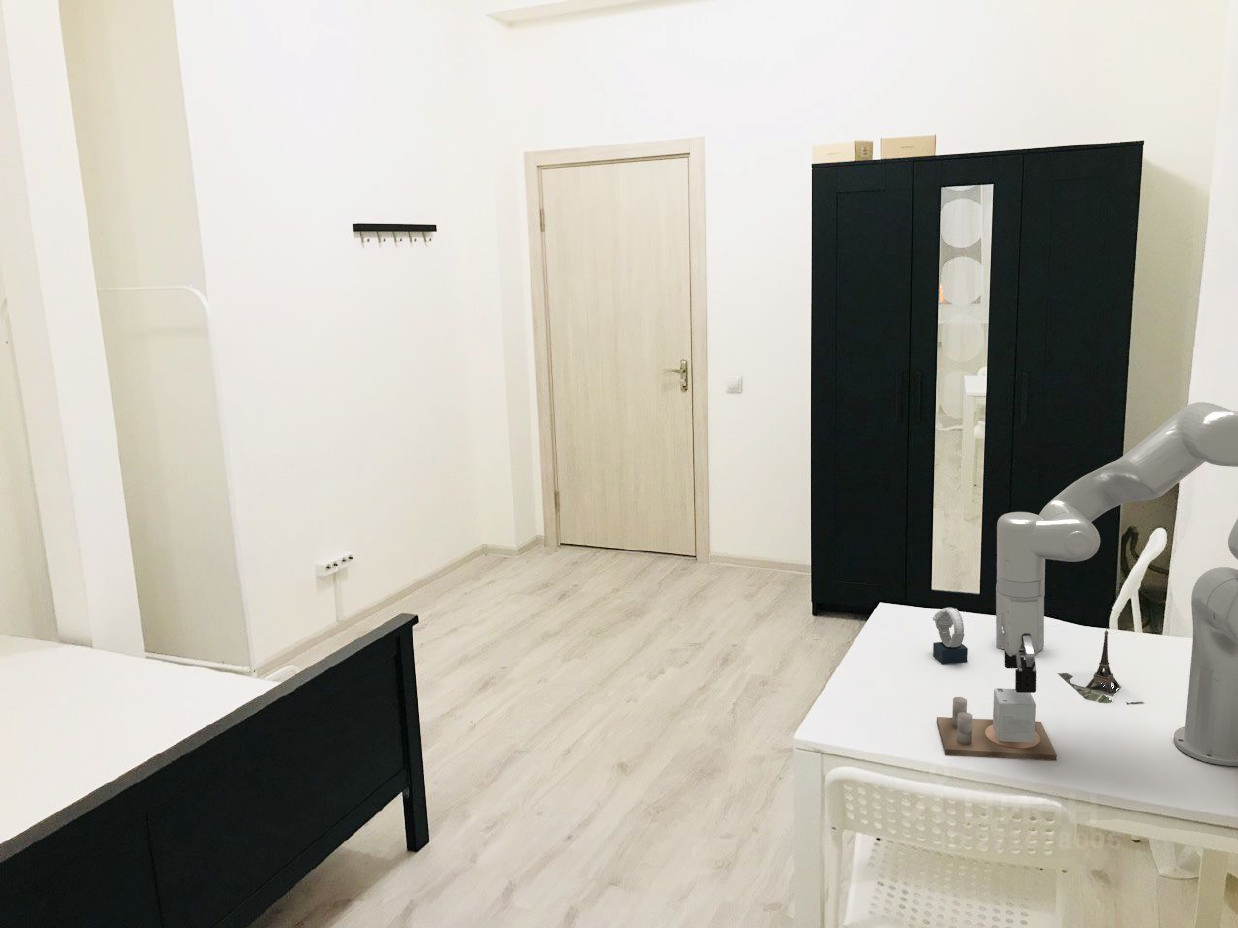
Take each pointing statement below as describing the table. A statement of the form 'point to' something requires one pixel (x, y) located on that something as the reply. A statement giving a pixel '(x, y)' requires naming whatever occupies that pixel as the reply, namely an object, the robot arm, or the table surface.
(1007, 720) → the skincare box
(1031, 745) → the board
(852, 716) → the table surface
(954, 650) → the watch
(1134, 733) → the table surface
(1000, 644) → the skincare box
